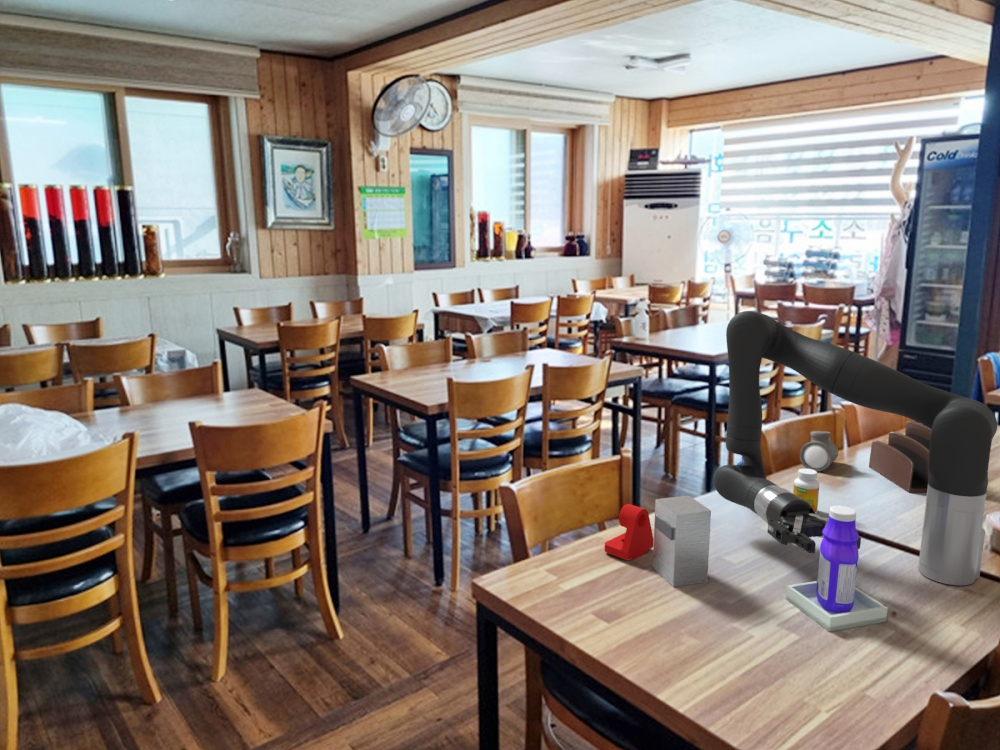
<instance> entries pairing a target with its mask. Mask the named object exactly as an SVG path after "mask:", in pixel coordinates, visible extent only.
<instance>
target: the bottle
mask: <svg viewBox="0 0 1000 750" xmlns="http://www.w3.org/2000/svg"><path fill="white" fill-rule="evenodd" d="M856 516H857V512H856V509H854V508H852V507H849V506H845V505H832V506H830V507H829V513H828V518H829V519H828V523H827V525H825V528H824V529H823V531H822V532H823V535H824V537H823V538H822V539H821V542H820V545H819V561H818V571H817V572H818V573H817V580H816V581H817V588H816V595H817V599H818V602H819V604H820V605H821V606H822V607H823V608H824V609H826V610H828V611H831V612H839V613H846V612H850V611H851V610H852V608H853V605H854V595H855V587H856V585H857V584H856V581H857V572H858V571H857V570H858V562H859V557H860V556H859V549H858V547H857V541H858V540H859V537H860V535H859V531H858V530H857V527H856V526H857V525H856V519H857V517H856Z"/></svg>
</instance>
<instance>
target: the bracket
mask: <svg viewBox="0 0 1000 750" xmlns="http://www.w3.org/2000/svg"><path fill="white" fill-rule="evenodd" d="M650 520H651V519H650V514H649V511H648V510H647V509H646V508H643V507H640V506H636V505H633V504H630V503H626V504H624V505H623V506H622V507H621V509H620V512H619V515H618V522H619V525H620V526H621V527H623V528H626V530H625V532H623V533H621V534H620V535H617V536H615V537H613V538H611V539H608V540H607V541H605V542H604V550H603V551H604V552H605V553H607V554H609V555H612V556H614V557H617V558H620V559H623V560H625V561H628V562H629V561H630V560H634V561H635V560H637V559H639V558H640V557H642V556H644V555H646V554H648V551H649V550H651V549H652V548H654V533H653V529H652V526H651V525H652V524H651V521H650Z"/></svg>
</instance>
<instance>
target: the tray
mask: <svg viewBox="0 0 1000 750" xmlns="http://www.w3.org/2000/svg"><path fill="white" fill-rule="evenodd" d="M785 587H786V589H785V600H786V601H788V602H789V603H790V604H791V605H793V606H794V607H795V608H797V609H799V610H800V611H801V612H802V613H803V614H805V615H806V616H808V617H809V618H810V619H812V620H813V621H814V622H815V623H817V624H818V625H819V626H821V627H822V628H823V629H825V630H826V631H827V632H829V633H830V632H836V631H842V630H846V629H852V628H858V627H863V626H869V625H874V624H881V623H885V622H887V618H888V616H887V615H888V607H887V606H885V605H884V604H883V603H881V602H879V601H878V600H877V599H875V598H873V597H871V596H870V595H869V594H867V593H865V592H864V591H863V590H860V588H857V587H856V586H855V595H854V605H853V608H852V610H851V611H850V612H846V613H839V612H831V611H828V610H826V609H824V608H823V607H822V606H821V605H820V604H819V602H818V599H817V595H816V588H817V580H814V581H808V582H807V581H806V582H802V583H794V584H789V585H786V586H785Z"/></svg>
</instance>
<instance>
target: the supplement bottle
mask: <svg viewBox="0 0 1000 750" xmlns="http://www.w3.org/2000/svg"><path fill="white" fill-rule="evenodd" d="M817 478H818V472H816V471H815V470H812V469H807V468H799V469H798V471H797V478H795V479H794V481H793V491H792V493H793V494H795V495H796V496H798V497H799V498H801V499H803V500H804V501H806V502H807V503H809V504H810V505H811V507H812V508H813V510H814V512H815V514H817V513H818V505H819V495H820V482H819V481H818V480H817Z"/></svg>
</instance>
